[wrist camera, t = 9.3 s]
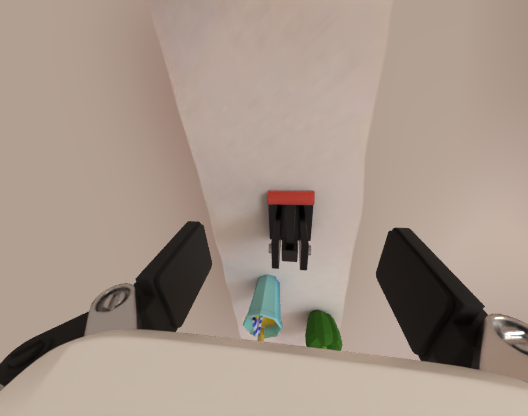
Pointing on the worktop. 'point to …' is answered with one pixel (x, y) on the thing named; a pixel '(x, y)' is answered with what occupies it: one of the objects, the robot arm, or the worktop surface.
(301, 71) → the worktop surface
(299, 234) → the bracket
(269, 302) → the cup
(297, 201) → the lever
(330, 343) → the bell pepper
